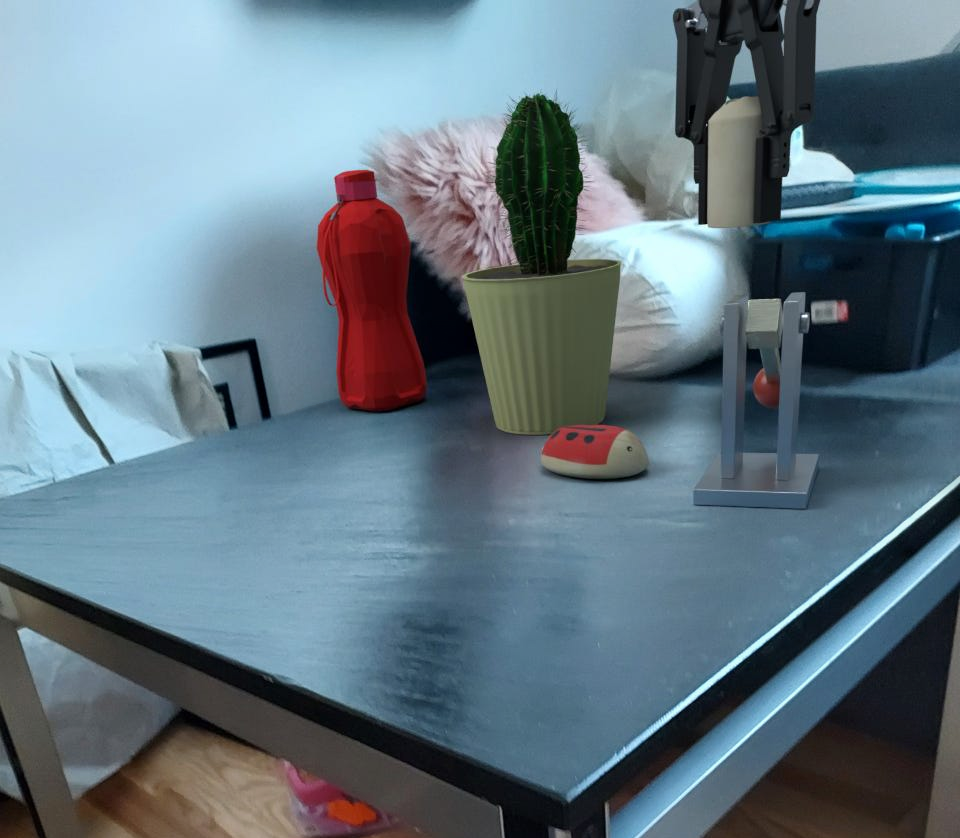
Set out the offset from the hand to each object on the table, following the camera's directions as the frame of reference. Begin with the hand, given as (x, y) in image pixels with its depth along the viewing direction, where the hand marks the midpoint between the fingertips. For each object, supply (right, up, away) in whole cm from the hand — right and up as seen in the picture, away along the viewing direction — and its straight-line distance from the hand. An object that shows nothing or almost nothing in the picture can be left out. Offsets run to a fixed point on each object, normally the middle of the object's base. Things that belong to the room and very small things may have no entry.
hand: (738, 221), depth 85 cm
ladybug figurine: (-13, -23, -4) cm, 27 cm away
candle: (0, 0, 0) cm, 1 cm away
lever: (-1, -17, -12) cm, 21 cm away
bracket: (-2, -25, -11) cm, 28 cm away
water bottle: (-35, -10, +28) cm, 46 cm away
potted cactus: (-16, -15, +14) cm, 26 cm away
